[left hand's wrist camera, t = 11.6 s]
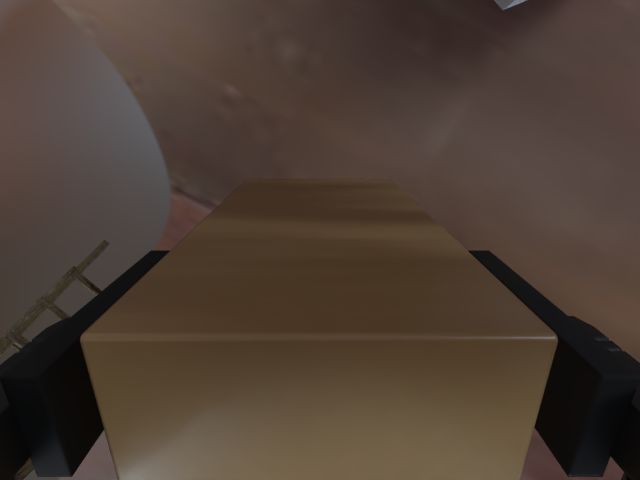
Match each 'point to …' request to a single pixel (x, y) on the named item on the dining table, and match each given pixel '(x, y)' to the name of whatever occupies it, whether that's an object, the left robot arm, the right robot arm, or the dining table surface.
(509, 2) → the electronic device
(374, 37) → the dining table surface
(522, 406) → the box
